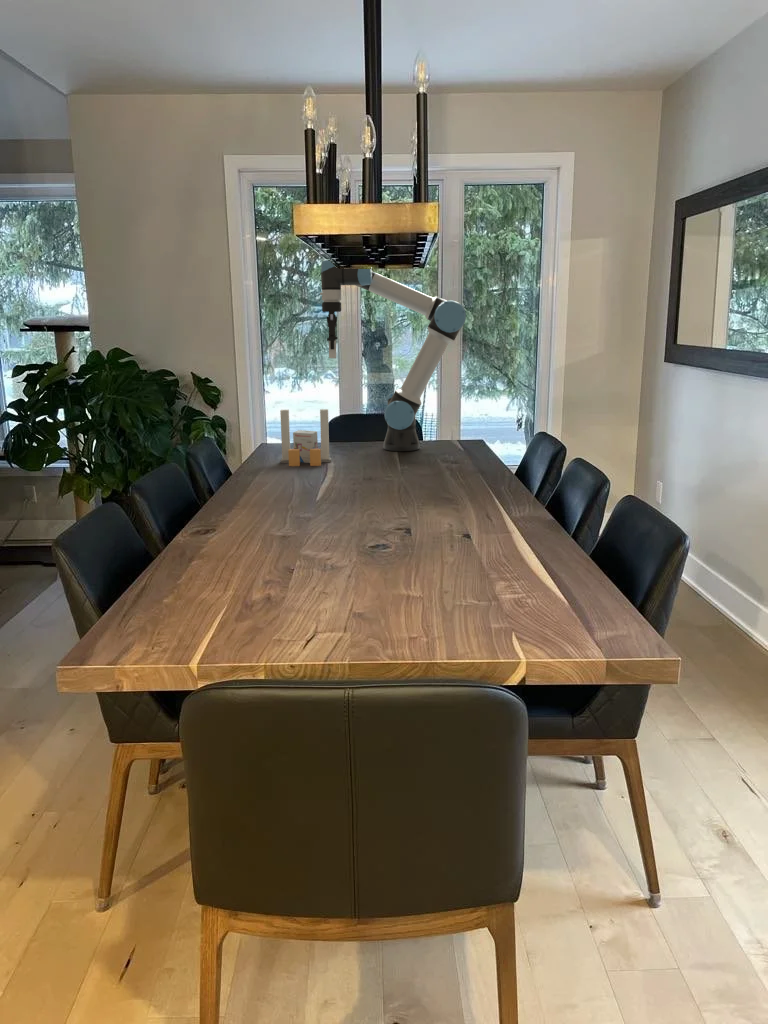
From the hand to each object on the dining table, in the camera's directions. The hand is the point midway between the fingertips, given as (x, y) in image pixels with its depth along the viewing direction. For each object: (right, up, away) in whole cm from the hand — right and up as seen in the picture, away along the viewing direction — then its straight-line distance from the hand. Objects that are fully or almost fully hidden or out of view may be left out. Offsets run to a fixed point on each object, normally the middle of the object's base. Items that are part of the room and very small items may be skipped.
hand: (332, 357), depth 302 cm
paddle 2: (-6, -43, -13) cm, 46 cm away
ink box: (-10, -42, -6) cm, 44 cm away
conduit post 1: (-17, -42, -7) cm, 46 cm away
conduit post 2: (-2, -42, -6) cm, 42 cm away
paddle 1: (-14, -44, -13) cm, 48 cm away
